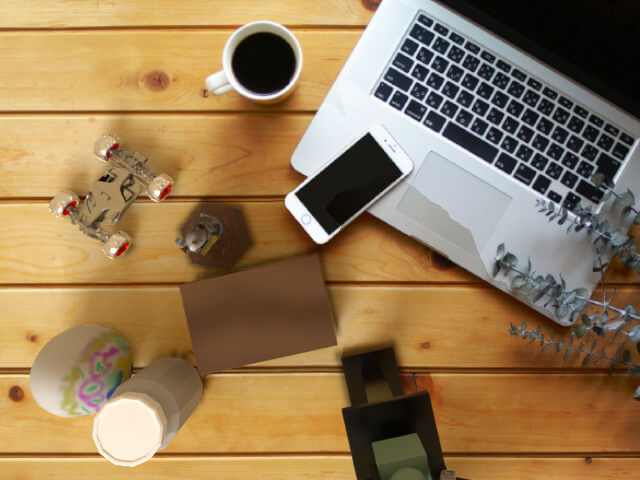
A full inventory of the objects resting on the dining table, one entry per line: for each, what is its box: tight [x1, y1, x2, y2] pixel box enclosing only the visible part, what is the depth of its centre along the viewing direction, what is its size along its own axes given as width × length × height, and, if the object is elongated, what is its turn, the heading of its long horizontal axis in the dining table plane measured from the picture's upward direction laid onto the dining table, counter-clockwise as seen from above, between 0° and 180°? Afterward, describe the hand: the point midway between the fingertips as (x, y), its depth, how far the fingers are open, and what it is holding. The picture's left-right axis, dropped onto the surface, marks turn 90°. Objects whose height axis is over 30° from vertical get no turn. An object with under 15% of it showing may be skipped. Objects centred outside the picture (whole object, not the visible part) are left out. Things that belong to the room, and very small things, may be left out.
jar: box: [91, 356, 204, 468], centre depth 70 cm, size 10×10×18 cm
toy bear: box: [372, 433, 432, 480], centre depth 46 cm, size 4×4×9 cm
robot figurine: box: [173, 201, 253, 271], centre depth 72 cm, size 11×9×12 cm
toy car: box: [48, 131, 176, 260], centre depth 76 cm, size 15×12×5 cm
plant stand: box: [340, 344, 446, 480], centre depth 65 cm, size 9×9×26 cm
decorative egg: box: [29, 324, 134, 419], centre depth 71 cm, size 12×12×15 cm
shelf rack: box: [178, 251, 339, 377], centre depth 73 cm, size 12×18×11 cm, turn 103°
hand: (403, 473), depth 47 cm, fingers closed on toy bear, 4 cm apart
